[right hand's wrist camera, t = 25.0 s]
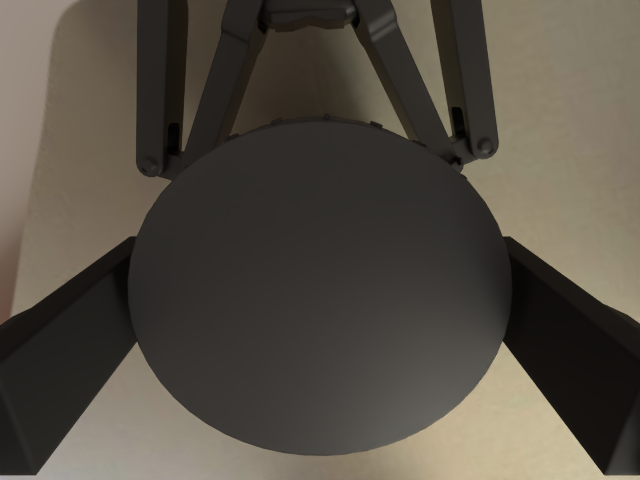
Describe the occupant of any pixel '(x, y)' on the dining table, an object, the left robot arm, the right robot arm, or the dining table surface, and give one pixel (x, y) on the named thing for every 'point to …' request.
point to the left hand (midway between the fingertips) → (324, 292)
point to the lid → (319, 287)
